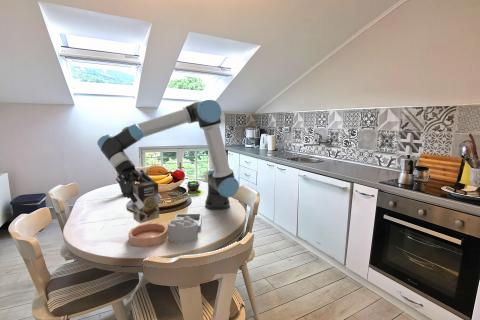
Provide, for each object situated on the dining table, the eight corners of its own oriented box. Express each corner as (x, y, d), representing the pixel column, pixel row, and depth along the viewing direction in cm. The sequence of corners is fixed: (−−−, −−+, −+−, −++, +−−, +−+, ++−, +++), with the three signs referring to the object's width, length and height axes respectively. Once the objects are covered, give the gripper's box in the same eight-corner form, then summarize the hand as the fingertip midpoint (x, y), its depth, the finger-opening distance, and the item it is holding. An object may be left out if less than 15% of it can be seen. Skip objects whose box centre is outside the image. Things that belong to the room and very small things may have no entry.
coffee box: (140, 223, 105) (138, 186, 102) (133, 219, 109) (131, 183, 107) (159, 217, 112) (158, 182, 109) (152, 213, 116) (151, 180, 113)
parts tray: (201, 217, 136) (201, 213, 135) (200, 230, 121) (200, 225, 120) (176, 218, 134) (175, 214, 134) (171, 231, 119) (171, 226, 119)
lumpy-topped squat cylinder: (177, 230, 121) (177, 213, 119) (202, 234, 117) (201, 216, 115) (165, 240, 111) (164, 221, 109) (191, 244, 107) (191, 225, 106)
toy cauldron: (207, 191, 184) (207, 177, 182) (194, 196, 172) (193, 181, 170) (192, 188, 192) (192, 174, 190) (178, 193, 179) (178, 178, 178)
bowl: (169, 229, 121) (169, 222, 121) (163, 245, 105) (163, 238, 105) (135, 230, 119) (135, 223, 119) (124, 247, 104) (123, 239, 103)
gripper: (138, 165, 124) (164, 200, 120) (95, 174, 103) (126, 217, 99) (145, 156, 121) (172, 191, 117) (104, 163, 100) (135, 206, 96)
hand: (151, 203), depth 108 cm, fingers closed on coffee box, 10 cm apart
